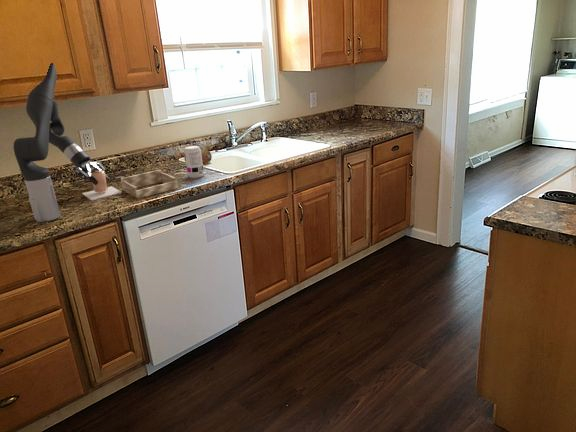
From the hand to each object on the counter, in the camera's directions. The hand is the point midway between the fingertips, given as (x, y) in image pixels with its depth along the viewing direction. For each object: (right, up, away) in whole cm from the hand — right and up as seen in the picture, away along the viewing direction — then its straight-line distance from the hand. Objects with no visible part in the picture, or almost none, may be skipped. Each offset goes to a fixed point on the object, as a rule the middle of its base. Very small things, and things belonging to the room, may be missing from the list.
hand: (102, 181), depth 210 cm
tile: (-1, -6, +3) cm, 6 cm away
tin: (+36, +13, +45) cm, 59 cm away
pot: (-1, -4, +2) cm, 5 cm away
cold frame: (+21, -3, +5) cm, 22 cm away
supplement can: (+39, +4, +22) cm, 45 cm away
